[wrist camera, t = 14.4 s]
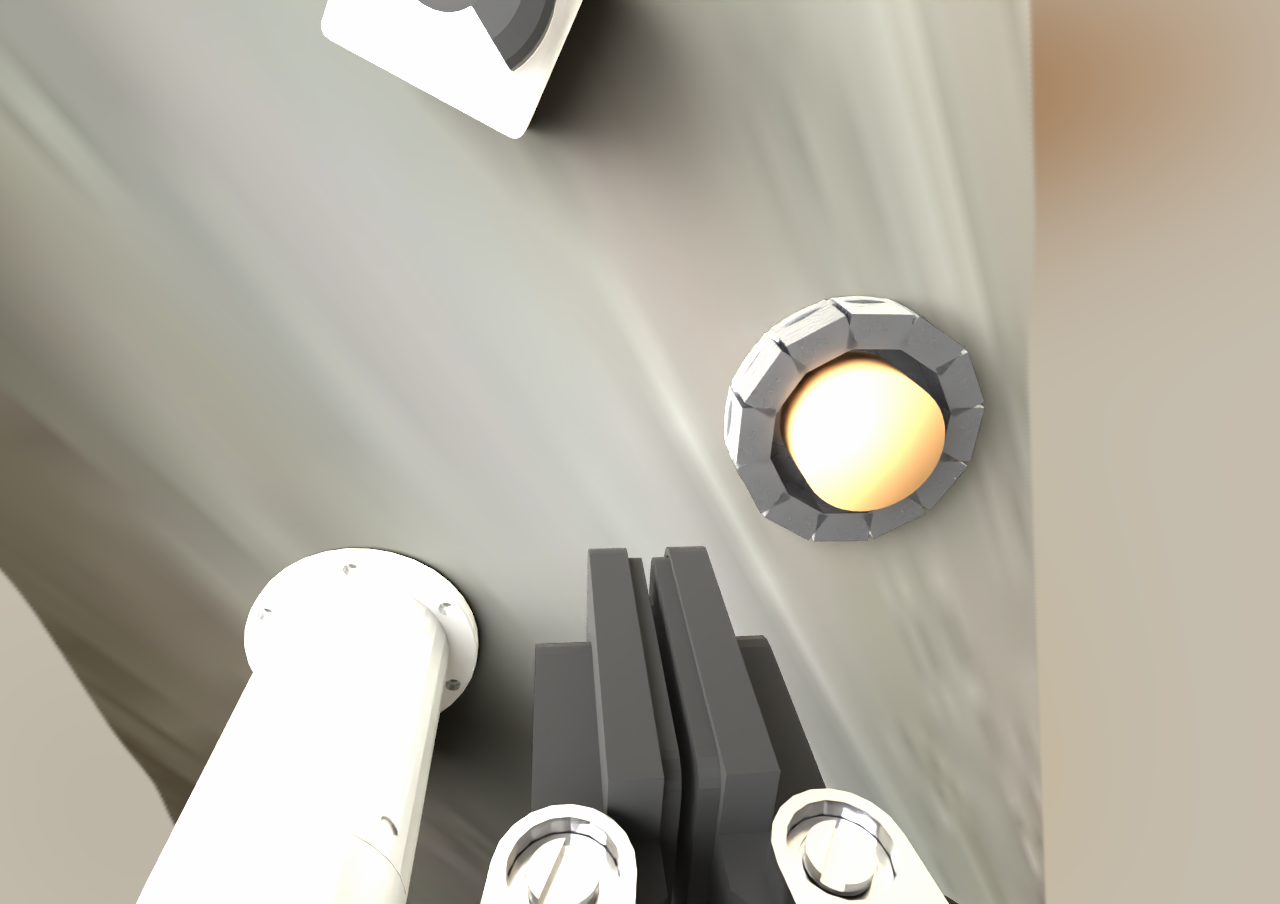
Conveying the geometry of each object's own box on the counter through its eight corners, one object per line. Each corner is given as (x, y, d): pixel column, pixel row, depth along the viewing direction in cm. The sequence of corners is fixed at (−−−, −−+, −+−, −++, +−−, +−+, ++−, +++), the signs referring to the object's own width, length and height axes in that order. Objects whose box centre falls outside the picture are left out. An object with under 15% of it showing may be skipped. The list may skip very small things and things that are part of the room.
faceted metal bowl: (927, 512, 44) (952, 539, 41) (714, 516, 42) (725, 545, 40) (978, 297, 38) (1010, 313, 36) (736, 293, 37) (750, 310, 34)
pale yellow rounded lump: (894, 474, 41) (926, 511, 38) (771, 474, 41) (792, 511, 37) (922, 352, 38) (960, 380, 35) (789, 349, 38) (814, 377, 34)
